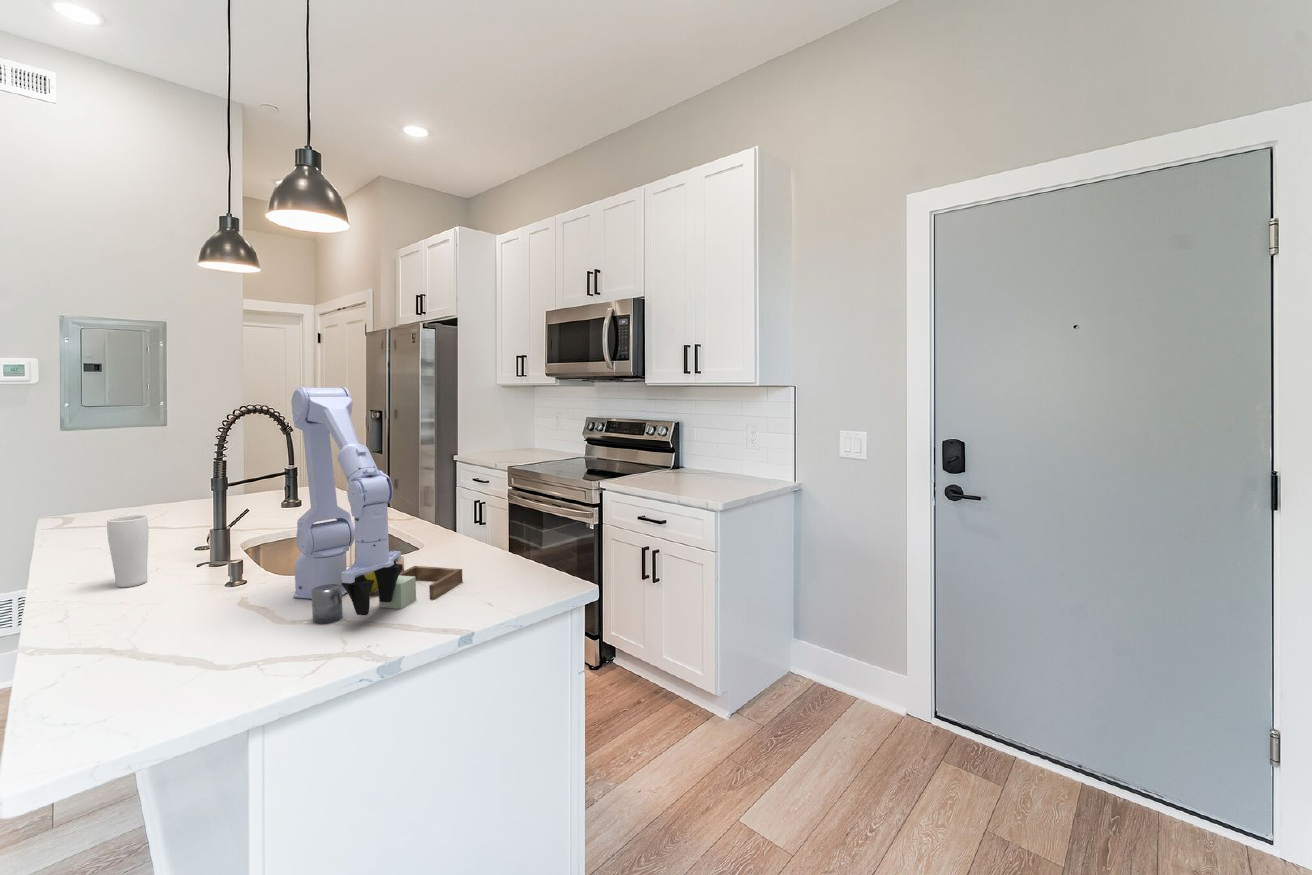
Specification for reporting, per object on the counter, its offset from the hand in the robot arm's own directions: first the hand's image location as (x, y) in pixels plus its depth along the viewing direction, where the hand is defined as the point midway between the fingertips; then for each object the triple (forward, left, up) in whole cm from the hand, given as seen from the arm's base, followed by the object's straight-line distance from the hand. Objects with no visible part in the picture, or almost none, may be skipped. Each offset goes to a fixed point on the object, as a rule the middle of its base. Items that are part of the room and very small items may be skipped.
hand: (374, 607), depth 114 cm
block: (0, +7, -2) cm, 7 cm away
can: (-8, -3, -2) cm, 9 cm away
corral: (0, +16, -2) cm, 16 cm away
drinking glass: (-65, +5, -2) cm, 65 cm away
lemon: (-9, +11, -2) cm, 14 cm away
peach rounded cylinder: (-10, +20, -2) cm, 23 cm away
